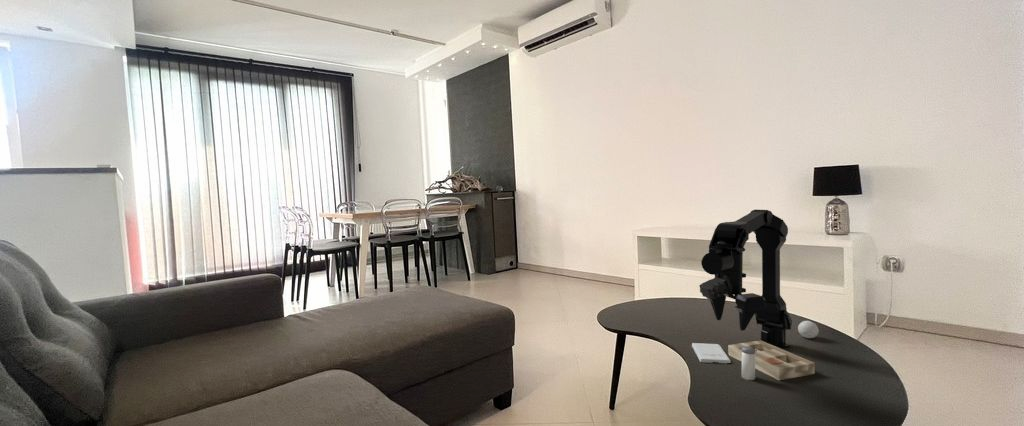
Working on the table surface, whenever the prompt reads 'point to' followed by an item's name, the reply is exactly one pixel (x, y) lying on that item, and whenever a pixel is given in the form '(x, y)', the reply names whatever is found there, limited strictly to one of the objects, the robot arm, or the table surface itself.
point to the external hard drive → (710, 353)
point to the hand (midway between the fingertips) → (730, 324)
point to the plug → (748, 362)
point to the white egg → (808, 329)
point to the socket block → (774, 360)
